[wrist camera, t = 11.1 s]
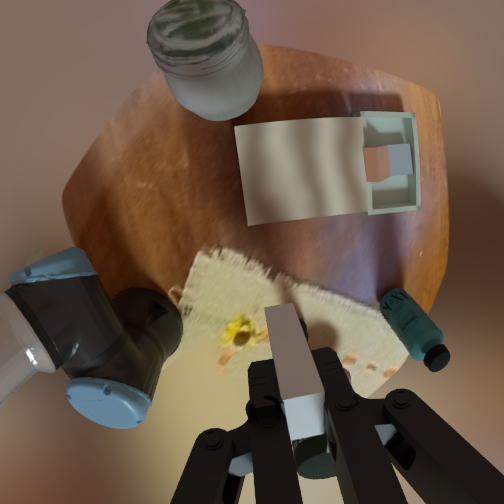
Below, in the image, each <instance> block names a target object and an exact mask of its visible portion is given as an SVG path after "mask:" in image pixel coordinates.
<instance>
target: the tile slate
mask: <svg viewBox="0 0 504 504" xmlns="http://www.w3.org/2000/svg"><path fill="white" fill-rule="evenodd" d="M388 154H389V165H390V176H399V175H407V174H413V169H412V159H411V150H410V144H409V143H401V144H388Z"/></svg>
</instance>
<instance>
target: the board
mask: <svg viewBox="0 0 504 504" xmlns="http://www.w3.org/2000/svg"><path fill="white" fill-rule="evenodd" d="M234 129H235V137H236V144H237V151H238V158H239V165H240V172H241V179H242V186H243V194H244V201H245V208H246V215H247V222H248V226H251V225H258V224H266V223H274V222H282V221H290V220H298V219H306V218H314V217H323V216H331V215H340V214H349V213H358V212H367V211H369V205H368V184H367V177H366V166H365V156H364V148H365V145H364V135H363V126H362V118H361V117H335V118H314V119H299V120H287V121H276V122H266V123H257V124H249V125H241V126H234Z"/></svg>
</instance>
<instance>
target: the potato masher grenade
mask: <svg viewBox="0 0 504 504" xmlns="http://www.w3.org/2000/svg"><path fill="white" fill-rule="evenodd" d="M299 321H300V324H301V327H302V329H303V332H304V335H305V338H306V340H307V343H308V333H307V326H306V324H305V322H304V321H302V320H301V319H299ZM308 346H309V343H308ZM309 349H310V346H309ZM310 351H311V349H310ZM292 446H293V453H294V459H295V465H296V470H297V472H298V474H299V475H300V476H302V477H304V478H308V479H325V478H330V477H334V476H336V473H335V469H334V466H333V462H332V459H331V455H330V452H329V453H327V434H326V431H325V433H324V434H320V435H316V436H311V437H306V438H301V439H296V440H292Z"/></svg>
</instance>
